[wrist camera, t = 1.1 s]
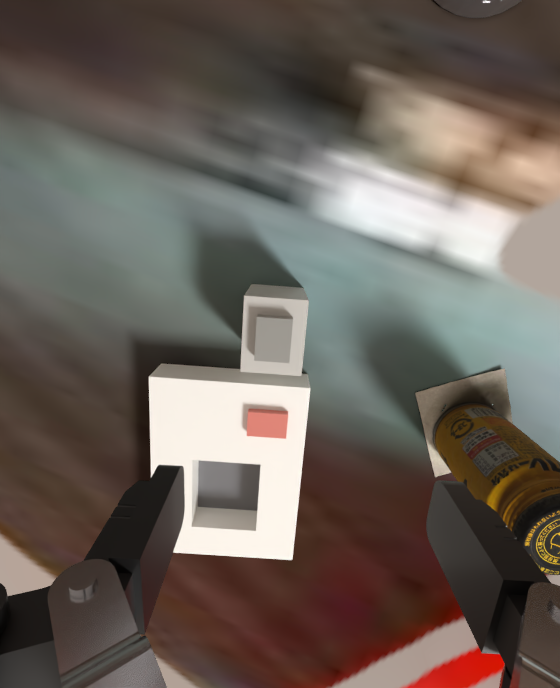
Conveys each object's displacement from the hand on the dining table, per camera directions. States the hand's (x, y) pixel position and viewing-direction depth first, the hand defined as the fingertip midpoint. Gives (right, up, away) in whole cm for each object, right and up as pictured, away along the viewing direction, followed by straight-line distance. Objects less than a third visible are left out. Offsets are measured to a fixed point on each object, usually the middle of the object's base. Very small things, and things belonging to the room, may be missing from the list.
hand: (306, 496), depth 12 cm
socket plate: (-5, -5, +21) cm, 22 cm away
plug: (-1, +7, +18) cm, 19 cm away
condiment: (+15, -2, +20) cm, 25 cm away
